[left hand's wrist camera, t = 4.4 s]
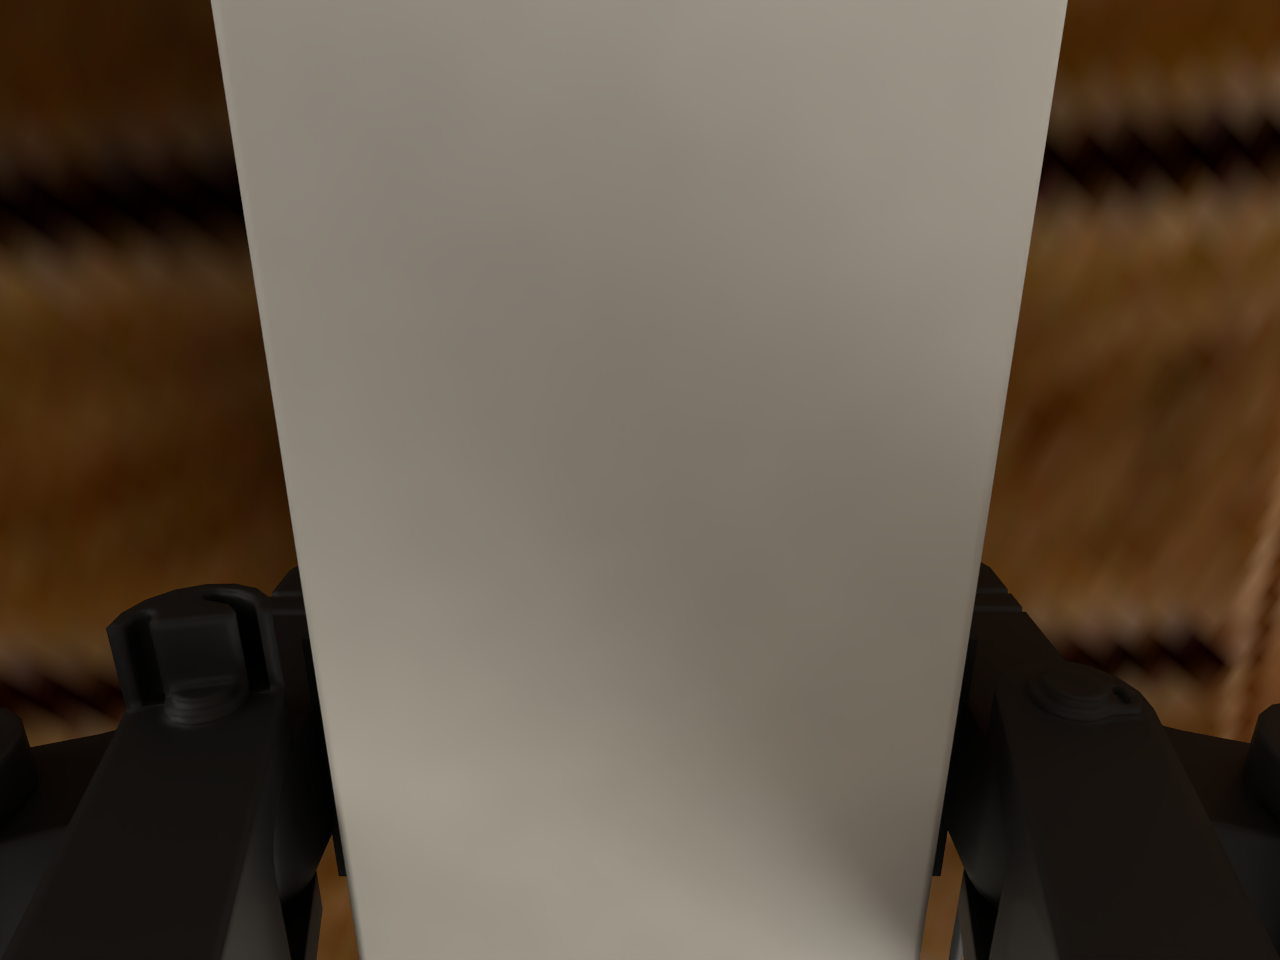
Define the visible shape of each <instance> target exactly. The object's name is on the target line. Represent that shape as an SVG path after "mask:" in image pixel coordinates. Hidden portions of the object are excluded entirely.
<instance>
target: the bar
mask: <svg viewBox="0 0 1280 960" xmlns="http://www.w3.org/2000/svg"><path fill="white" fill-rule="evenodd" d="M1067 1H1068V0H211V5H212V11H213V18H214V24H215V31H216V37H217V44H218V50H219V57H220V63H221V69H222V76H223V82H224V89H225V95H226V102H227V108H228V115H229V121H230V127H231V134H232V140H233V147H234V153H235V160H236V166H237V173H238V179H239V186H240V192H241V198H242V205H243V211H244V218H245V224H246V231H247V237H248V244H249V250H250V256H251V263H252V269H253V276H254V282H255V289H256V295H257V302H258V308H259V314H260V321H261V327H262V334H263V340H264V347H265V353H266V360H267V366H268V373H269V379H270V385H271V392H272V398H273V405H274V411H275V418H276V424H277V431H278V437H279V443H280V450H281V456H282V463H283V469H284V476H285V482H286V489H287V495H288V501H289V508H290V514H291V521H292V527H293V534H294V540H295V547H296V553H297V559H298V566H299V572H300V579H301V585H302V592H303V598H304V605H305V611H306V618H307V624H308V630H309V637H310V643H311V650H312V656H313V663H314V669H315V676H316V682H317V688H318V695H319V701H320V708H321V714H322V721H323V727H324V734H325V740H326V746H327V753H328V759H329V766H330V772H331V779H332V785H333V792H334V798H335V804H336V811H337V817H338V824H339V830H340V837H341V843H342V850H343V856H344V863H345V869H346V875H347V882H348V888H349V895H350V901H351V908H352V914H353V921H354V927H355V933H356V940H357V946H358V953H359V959H360V960H919V957H920V950H921V944H922V938H923V931H924V925H925V918H926V912H927V905H928V899H929V892H930V886H931V879H932V873H933V867H934V860H935V854H936V847H937V841H938V834H939V828H940V821H941V815H942V808H943V802H944V795H945V789H946V783H947V776H948V770H949V763H950V757H951V750H952V744H953V737H954V731H955V724H956V718H957V712H958V705H959V699H960V692H961V686H962V679H963V673H964V666H965V660H966V653H967V647H968V640H969V634H970V628H971V621H972V615H973V608H974V602H975V595H976V589H977V582H978V576H979V569H980V563H981V556H982V550H983V544H984V537H985V531H986V524H987V518H988V511H989V505H990V498H991V492H992V485H993V479H994V473H995V466H996V460H997V453H998V447H999V440H1000V434H1001V427H1002V421H1003V414H1004V408H1005V401H1006V395H1007V389H1008V382H1009V376H1010V369H1011V363H1012V356H1013V350H1014V343H1015V337H1016V330H1017V324H1018V318H1019V311H1020V305H1021V298H1022V292H1023V285H1024V279H1025V272H1026V266H1027V259H1028V253H1029V246H1030V240H1031V234H1032V227H1033V221H1034V214H1035V208H1036V201H1037V195H1038V188H1039V182H1040V175H1041V169H1042V163H1043V156H1044V150H1045V143H1046V137H1047V130H1048V124H1049V117H1050V111H1051V104H1052V98H1053V91H1054V85H1055V79H1056V72H1057V66H1058V59H1059V53H1060V46H1061V40H1062V33H1063V27H1064V20H1065V14H1066V8H1067Z"/></svg>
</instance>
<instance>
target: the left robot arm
mask: <svg viewBox="0 0 1280 960" xmlns="http://www.w3.org/2000/svg"><path fill="white" fill-rule="evenodd" d="M1007 591H1008V589H1007V588H1006V587H1005V585H1004V584H1003V583H1002V582H1001V580H1000V579H999V578H998V577H997V575H996V574H995V573H994V572H993V570H992V569H991V568H990V567H988V566H987V565H985V564H983V563H982V562H981V563H980V569H979V576H978V582H977V589H976V595H975V602H974V608H973V615H972V621H971V628H970V634H969V640H968V647H967V653H966V660H965V666H964V673H963V679H962V686H961V692H960V699H959V705H958V712H957V718H956V724H955V731H954V737H953V744H952V750H951V757H950V763H949V770H948V776H947V783H946V789H945V795H944V802H943V808H942V815H941V821H940V828H939V834H938V841H937V847H936V854H935V860H934V867H933V873H932V876H941V869H942V863H943V857H944V850H945V844H946V838H947V832H948V831H949V834H950V836H951V838H952V841H953V843H954V845H955V847H956V850H957V852H958V854H959V856H960V859H961V861H962V863H963V866H964V872H963V878H962V884H961V890H960V895H959V901H958V907H957V913H956V919H955V925H954V931H953V936H952V942H951V948H950V955H949V960H962V955H964V960H1280V704H1273V705H1271V706H1270V707H1269V708H1267V709H1266V710H1265V711H1263V712H1262V713H1261V714H1259V717H1258V720H1257V723H1256V726H1255V730H1254V733H1253V736H1252V740H1251V743H1245V742H1240V741H1235V740H1229V739H1224V738H1219V737H1213V736H1208V735H1203V734H1198V733H1192V732H1187V731H1182V730H1178V729H1174V728H1170V727H1166V726H1162V724H1161V722H1160V720H1159V718H1158V716H1157V714H1156V712H1155V710H1154V708H1153V707H1152V706H1151V705H1150V704H1149V703H1148V701H1147V700H1146V699H1145V698H1144V697H1143V695H1142V694H1141V693H1140V692H1139V691H1138V690H1136V689H1134V688H1133V687H1131V686H1130V685H1128V684H1127V683H1125V682H1124V681H1122V680H1121V679H1119V678H1118V677H1116V676H1113V675H1111V674H1108V673H1106V672H1103V671H1101V670H1098V669H1096V668H1093V667H1091V666H1088V665H1083V664H1079V663H1074V662H1069V661H1065V660H1064V659H1063V658H1062V656H1061V655H1060V654H1059V653H1058V651H1057V650H1056V649H1055V648H1054V646H1053V645H1052V644H1051V643H1050V641H1049V640H1048V639H1047V638H1046V637H1045V635H1044V634H1043V633H1042V632H1041V630H1040V629H1039V628H1038V627H1037V625H1036V624H1035V623H1034V622H1033V620H1032V619H1031V618H1030V617H1029V615H1028V614H1027V613H1026V612H1022V607H1021V605H1020V604H1019V603H1018V602H1017V600H1016V599H1015V598H1014V597H1013V595H1012V594H1008V592H1007ZM106 630H107V634H108V638H109V642H110V646H111V650H112V654H113V658H114V662H115V666H116V670H117V674H118V678H119V682H120V686H121V690H122V694H123V698H124V702H125V706H126V712H125V714H124V716H123V718H122V720H121V722H120V724H119V726H118V728H117V730H114V731H110V732H106V733H102V734H98V735H93V736H88V737H83V738H77V739H72V740H67V741H62V742H56V743H51V744H46V745H41V746H35V747H30V746H29V742H28V739H27V736H26V732H25V729H24V726H23V722H22V719H21V718H20V717H18V716H17V715H16V714H14V713H13V712H12V711H10V710H9V709H6V708H0V960H316V957H317V949H318V941H319V933H320V925H321V917H322V903H321V896H320V890H319V884H318V878H317V872H316V869H317V867H318V864H319V862H320V860H321V858H322V855H323V853H324V851H325V848H326V846H327V844H328V842H329V839H330V837H331V835H333V842H334V848H335V854H336V860H337V867H338V873H339V876H347V875H346V869H345V863H344V856H343V850H342V843H341V837H340V830H339V824H338V817H337V811H336V804H335V798H334V792H333V785H332V779H331V772H330V766H329V759H328V753H327V746H326V740H325V734H324V727H323V721H322V714H321V708H320V701H319V695H318V688H317V682H316V676H315V669H314V663H313V656H312V650H311V643H310V637H309V630H308V624H307V618H306V611H305V605H304V598H303V592H302V585H301V579H300V572H299V566H297V567H295V568H293V569H292V570H290V571H289V572H288V573H287V575H286V576H285V577H284V578H283V580H282V581H281V582H280V584H279V585H278V586H277V587H276V589H275V590H274V591H273V592H272V597H268V596H267V595H265V594H264V593H262V592H261V591H260V590H258V589H257V588H252V587H248V586H243V585H238V584H205V585H199V586H193V587H188V588H182V589H177V590H173V591H170V592H167V593H164V594H161V595H158V596H155V597H152V598H149V599H146V600H145V601H143V602H141V603H139V604H137V605H135V606H134V607H132V608H130V609H128V610H126V611H124V612H123V613H121V614H120V615H119V616H118V617H117V618H116V619H115V620H114V621H113V622H112V623H111V624H110V625H109V626H108V627H107V628H106Z"/></svg>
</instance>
